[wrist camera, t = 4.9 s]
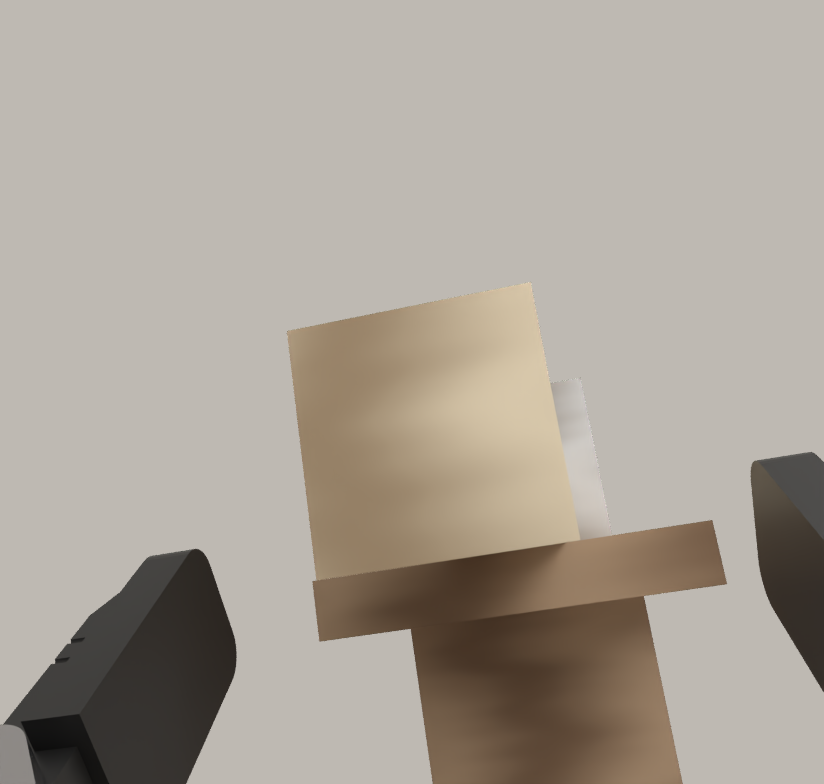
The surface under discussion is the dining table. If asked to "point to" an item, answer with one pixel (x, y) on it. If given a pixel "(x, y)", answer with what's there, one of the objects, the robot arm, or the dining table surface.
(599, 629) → the wooden i-beam column
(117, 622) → the robot arm
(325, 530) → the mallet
